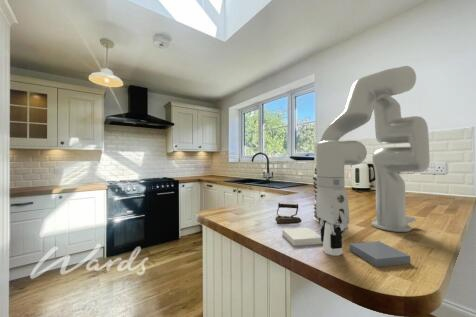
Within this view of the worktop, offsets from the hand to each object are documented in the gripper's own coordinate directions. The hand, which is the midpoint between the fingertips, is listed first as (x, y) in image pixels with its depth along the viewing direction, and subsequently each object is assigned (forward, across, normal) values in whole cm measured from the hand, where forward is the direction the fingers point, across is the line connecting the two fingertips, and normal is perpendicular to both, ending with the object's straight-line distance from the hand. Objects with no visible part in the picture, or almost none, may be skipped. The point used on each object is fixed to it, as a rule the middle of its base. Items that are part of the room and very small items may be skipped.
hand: (331, 243), depth 62 cm
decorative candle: (+3, +30, -16) cm, 34 cm away
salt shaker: (+3, 0, 0) cm, 3 cm away
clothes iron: (+3, +31, 0) cm, 31 cm away
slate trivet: (+2, -5, -11) cm, 12 cm away
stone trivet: (+2, +11, +4) cm, 12 cm away
